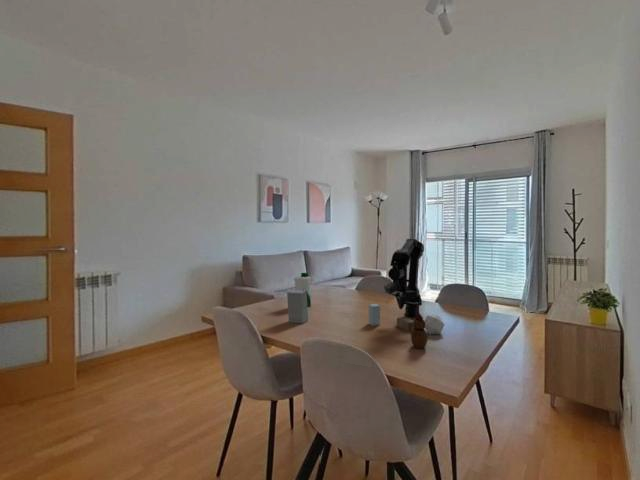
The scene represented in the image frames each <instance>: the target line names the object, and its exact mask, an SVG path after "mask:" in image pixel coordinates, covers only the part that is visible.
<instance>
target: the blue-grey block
mask: <svg viewBox="0 0 640 480" xmlns="http://www.w3.org/2000/svg"><path fill="white" fill-rule="evenodd" d="M368 324H369V325H370V326H372V327H373V326H374V327H375V326H380V325H381V305H379V304H377V303H372V304H368Z"/></svg>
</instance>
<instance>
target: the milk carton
mask: <svg viewBox="0 0 640 480" xmlns="http://www.w3.org/2000/svg"><path fill="white" fill-rule="evenodd" d="M308 274H309V273H308V272H302V273H301V274H300V275H299V276H294V277H293V280H294V290H302V291H306V293H307V308H310V307H311V305H312V303H311V302H312V301H311V282H312V276H309V275H308Z"/></svg>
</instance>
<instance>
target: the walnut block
mask: <svg viewBox="0 0 640 480" xmlns="http://www.w3.org/2000/svg"><path fill="white" fill-rule="evenodd" d="M413 322H414V320H412V319H410V318H408V317H405V316H398V317H396V326H397V327H399V328H401V329H403V330H405V331H406V332H412V329H413V328H414V326H413Z"/></svg>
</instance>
